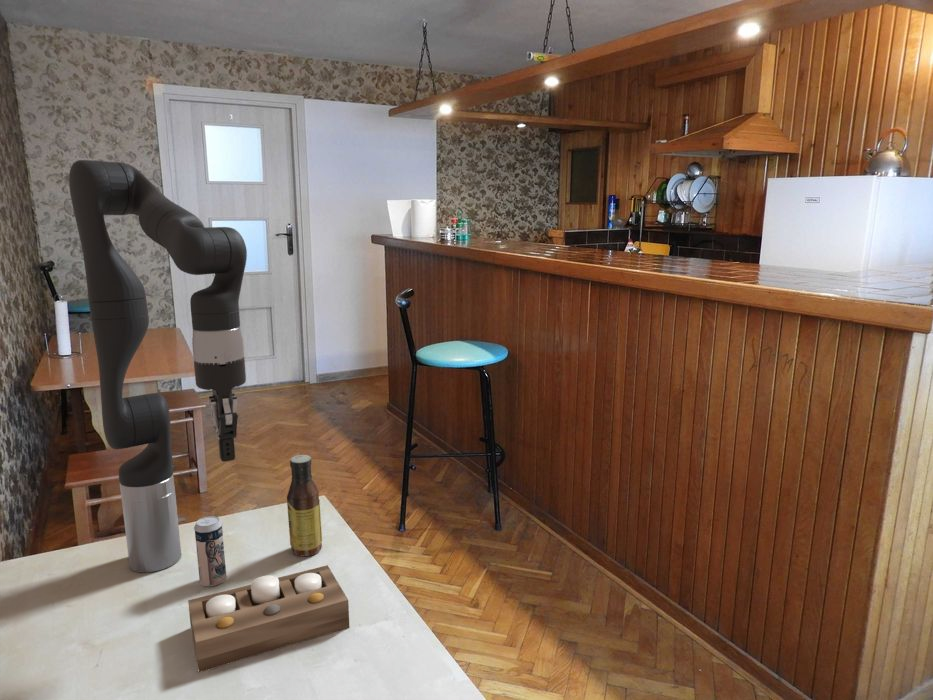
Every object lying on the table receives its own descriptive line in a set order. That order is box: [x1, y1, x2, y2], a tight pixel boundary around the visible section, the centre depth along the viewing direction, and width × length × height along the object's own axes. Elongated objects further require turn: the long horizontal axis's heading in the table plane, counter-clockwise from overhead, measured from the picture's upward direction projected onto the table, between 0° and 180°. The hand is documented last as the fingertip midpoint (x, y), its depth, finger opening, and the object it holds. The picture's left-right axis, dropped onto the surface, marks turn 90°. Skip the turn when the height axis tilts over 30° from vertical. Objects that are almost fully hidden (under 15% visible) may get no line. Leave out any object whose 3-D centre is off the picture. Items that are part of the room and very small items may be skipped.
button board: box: [187, 564, 350, 673], centre depth 106 cm, size 12×23×5 cm, turn 118°
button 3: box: [295, 573, 322, 595], centre depth 111 cm, size 4×4×3 cm
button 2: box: [250, 575, 280, 605], centre depth 108 cm, size 4×4×3 cm
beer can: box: [193, 515, 228, 588], centre depth 119 cm, size 5×5×12 cm
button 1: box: [206, 595, 236, 618], centre depth 105 cm, size 4×4×3 cm
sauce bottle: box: [286, 454, 323, 557], centre depth 129 cm, size 7×6×20 cm
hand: (227, 459), depth 107 cm, fingers closed
